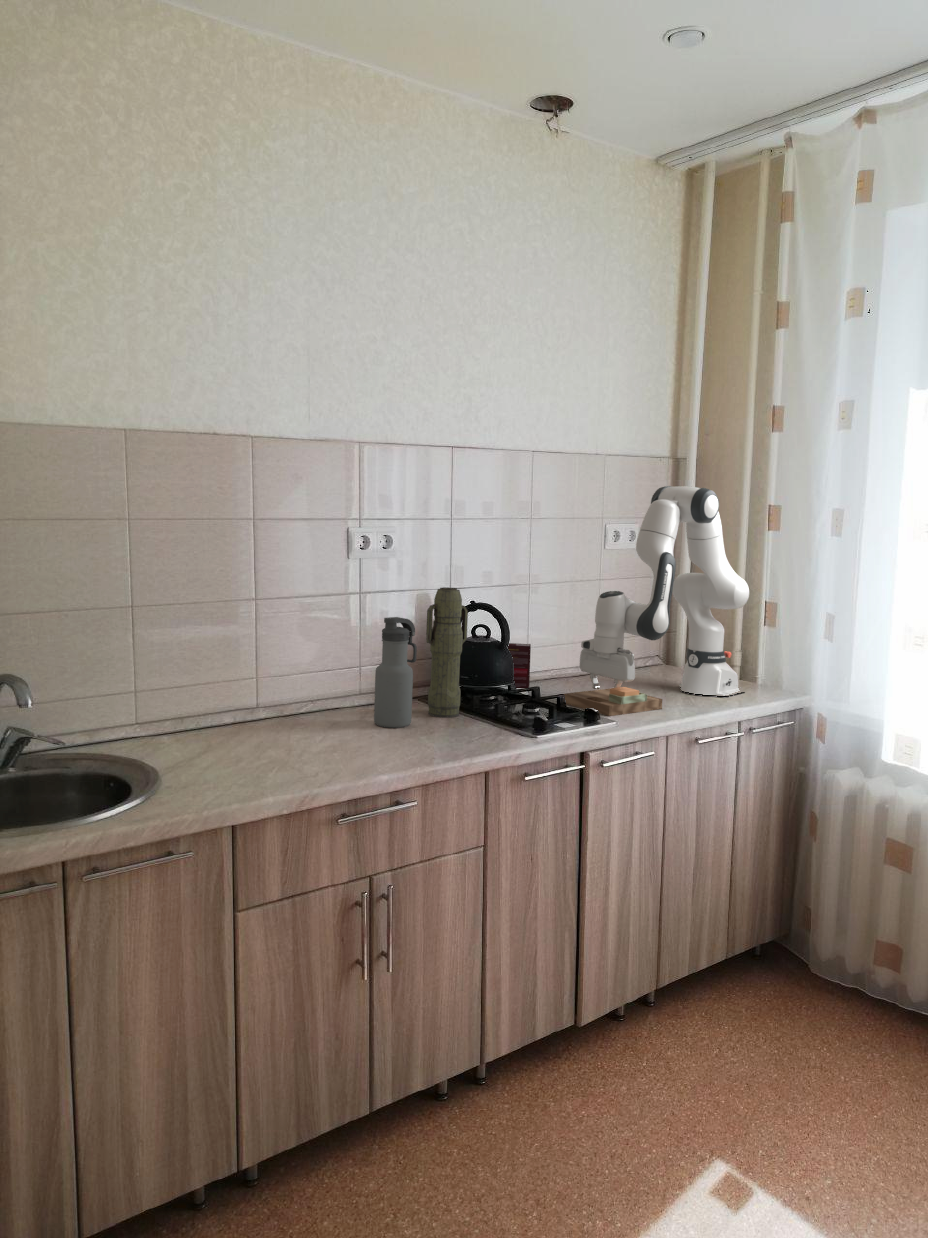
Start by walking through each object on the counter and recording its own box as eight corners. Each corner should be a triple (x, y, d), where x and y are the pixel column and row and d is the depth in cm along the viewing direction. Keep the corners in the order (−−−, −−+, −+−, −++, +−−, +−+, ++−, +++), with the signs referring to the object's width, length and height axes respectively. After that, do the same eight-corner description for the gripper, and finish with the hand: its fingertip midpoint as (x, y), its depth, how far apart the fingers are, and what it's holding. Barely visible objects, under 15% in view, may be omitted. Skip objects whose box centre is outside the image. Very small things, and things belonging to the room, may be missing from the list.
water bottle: (395, 718, 249) (399, 614, 246) (420, 725, 242) (423, 619, 239) (366, 723, 242) (369, 616, 239) (390, 730, 235) (393, 621, 232)
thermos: (470, 715, 256) (475, 589, 252) (435, 719, 249) (439, 590, 245) (452, 708, 263) (457, 586, 259) (417, 712, 257) (421, 587, 252)
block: (623, 697, 275) (624, 686, 274) (638, 701, 270) (639, 690, 269) (609, 699, 271) (610, 688, 271) (624, 703, 266) (624, 692, 266)
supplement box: (529, 693, 290) (531, 643, 288) (528, 696, 285) (531, 645, 283) (501, 692, 291) (503, 642, 289) (500, 695, 286) (502, 644, 284)
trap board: (615, 697, 290) (616, 681, 290) (661, 709, 275) (662, 692, 274) (563, 703, 277) (564, 687, 277) (608, 716, 262) (609, 698, 262)
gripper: (641, 650, 269) (638, 697, 270) (592, 640, 285) (589, 684, 287) (626, 651, 265) (623, 698, 267) (577, 641, 281) (574, 686, 283)
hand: (605, 691), depth 277 cm, fingers open, 7 cm apart
